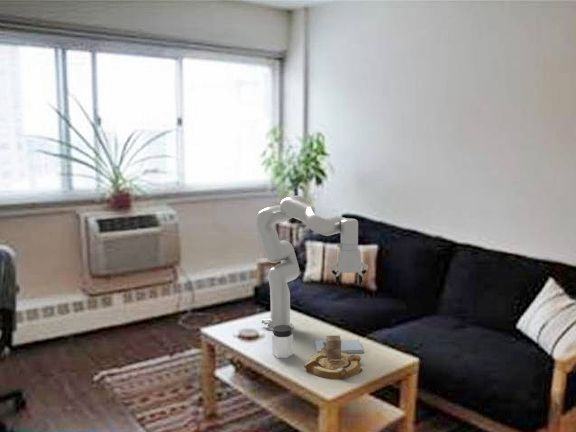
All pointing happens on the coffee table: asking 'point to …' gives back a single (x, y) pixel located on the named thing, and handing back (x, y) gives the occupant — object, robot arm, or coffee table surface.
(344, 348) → the pocket board
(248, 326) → the coffee table surface
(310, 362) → the ashtray
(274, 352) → the jar
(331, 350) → the block
